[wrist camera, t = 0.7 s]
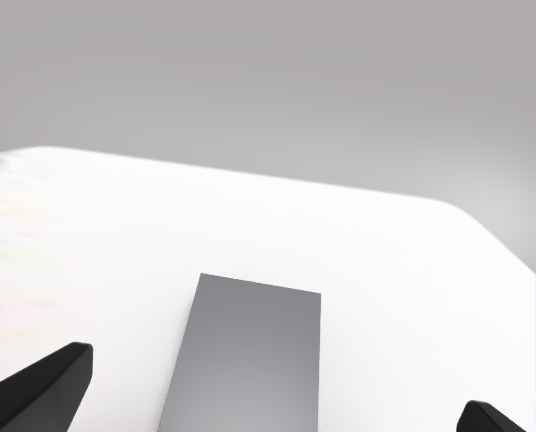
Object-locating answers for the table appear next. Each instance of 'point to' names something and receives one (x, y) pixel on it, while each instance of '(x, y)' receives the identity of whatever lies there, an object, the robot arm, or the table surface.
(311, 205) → the table surface
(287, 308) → the gray box
